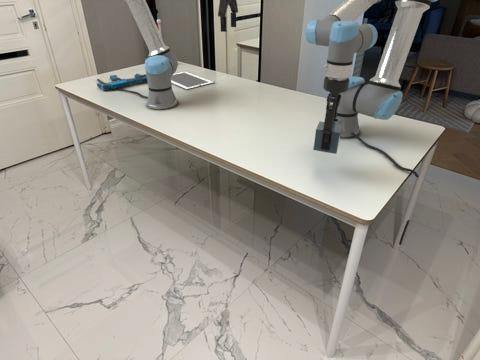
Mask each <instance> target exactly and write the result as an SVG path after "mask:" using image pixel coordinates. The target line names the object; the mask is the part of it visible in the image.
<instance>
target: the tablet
mask: <svg viewBox="0 0 480 360" xmlns="http://www.w3.org/2000/svg"><path fill="white" fill-rule="evenodd" d="M214 83H215V81H213V80H209V79H207V78H205V77H202V76H199V75H197V74H194V73H192V72H188V71H187V70H186V71H181V72H175V73H174V74H173V75H172V76H171V84H172V85H174V86H177V87H180V88H182V89H184V90H191V89H195V88H200V87H204V86H207V85H212V84H214Z"/></svg>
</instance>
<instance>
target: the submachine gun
mask: <svg viewBox="0 0 480 360" xmlns="http://www.w3.org/2000/svg"><path fill="white" fill-rule="evenodd" d="M109 79H110V80H111V81H110V82H104V83H101V82H96V87H97V88H99V89H100V90H101V91H105V90H112V89H113V90H117V89H116V88H120V87H121V88H122V87H126V86H130V85H135V84H140V83H145V82H146V83H147V82H148V81H147V75H146V73H145V74H140V73H135V74H134V77H130V78H121V77H118V75H116V74H114V75H109Z"/></svg>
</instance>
